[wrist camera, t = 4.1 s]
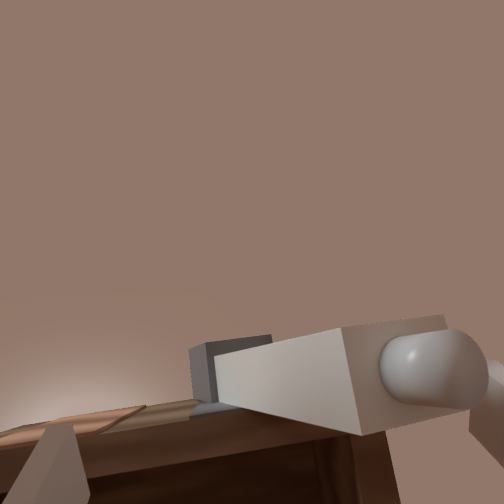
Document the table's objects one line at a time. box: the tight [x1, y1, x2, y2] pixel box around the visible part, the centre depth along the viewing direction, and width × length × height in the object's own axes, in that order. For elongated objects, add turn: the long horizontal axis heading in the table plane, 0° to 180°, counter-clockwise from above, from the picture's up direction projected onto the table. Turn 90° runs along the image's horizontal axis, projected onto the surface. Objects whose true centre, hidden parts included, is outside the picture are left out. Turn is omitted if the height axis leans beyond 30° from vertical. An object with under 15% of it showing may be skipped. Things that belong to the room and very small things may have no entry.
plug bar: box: [189, 315, 489, 436], centre depth 22 cm, size 26×5×4 cm, turn 18°
